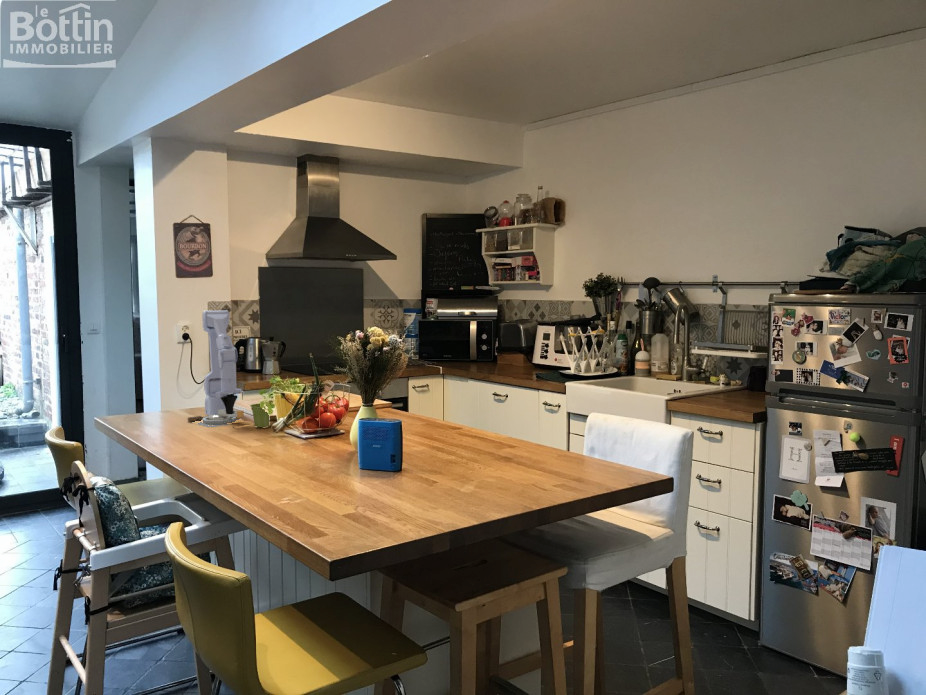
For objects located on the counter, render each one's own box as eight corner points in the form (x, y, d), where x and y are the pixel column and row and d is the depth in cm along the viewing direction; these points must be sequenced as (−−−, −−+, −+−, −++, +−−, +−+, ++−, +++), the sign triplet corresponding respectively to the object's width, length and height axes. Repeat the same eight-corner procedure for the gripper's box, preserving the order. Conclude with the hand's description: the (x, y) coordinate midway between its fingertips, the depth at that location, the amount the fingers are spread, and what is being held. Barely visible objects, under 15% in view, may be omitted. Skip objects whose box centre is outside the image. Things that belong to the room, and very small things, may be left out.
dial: (204, 422, 290) (203, 410, 290) (217, 418, 298) (217, 407, 297) (235, 424, 285) (235, 412, 285) (249, 421, 292) (248, 409, 292)
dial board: (186, 423, 292) (186, 418, 292) (228, 417, 305) (227, 412, 305) (210, 429, 280) (209, 423, 280) (252, 423, 293) (252, 417, 293)
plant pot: (269, 424, 291) (268, 402, 290) (280, 427, 284) (279, 405, 283) (246, 427, 285) (246, 404, 284) (257, 430, 278) (256, 407, 277)
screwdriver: (190, 422, 290) (189, 417, 290) (187, 422, 291) (187, 417, 291) (218, 418, 299) (217, 413, 299) (215, 418, 300) (215, 413, 300)
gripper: (226, 381, 280) (227, 417, 281) (248, 377, 294) (249, 411, 295) (210, 380, 282) (211, 416, 283) (232, 377, 296) (233, 411, 297)
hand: (229, 414), depth 289 cm, fingers closed, pressing on dial
